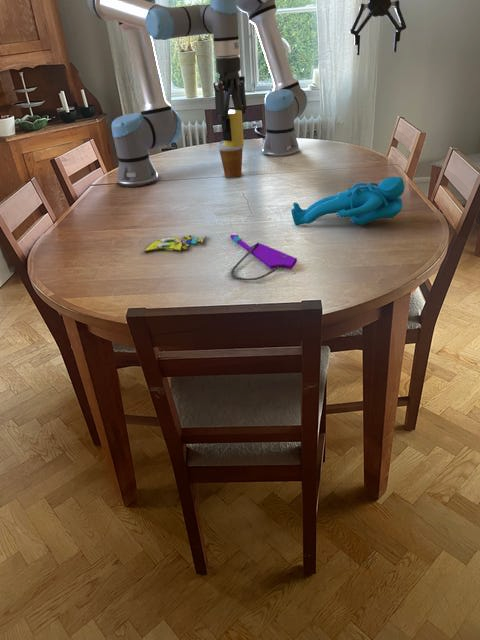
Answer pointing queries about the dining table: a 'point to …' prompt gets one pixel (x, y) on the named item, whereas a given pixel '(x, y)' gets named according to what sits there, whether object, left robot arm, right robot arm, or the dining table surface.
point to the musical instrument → (264, 257)
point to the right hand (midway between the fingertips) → (376, 53)
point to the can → (235, 129)
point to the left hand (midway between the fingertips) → (233, 137)
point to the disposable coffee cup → (231, 159)
